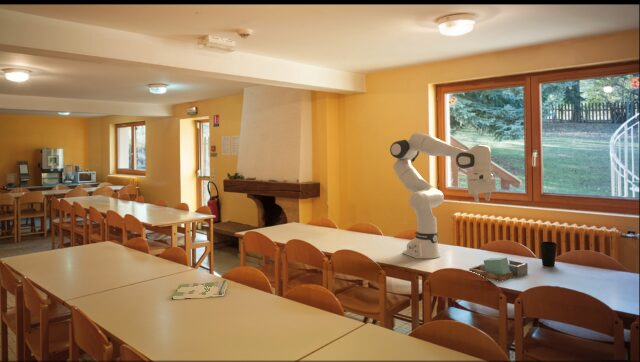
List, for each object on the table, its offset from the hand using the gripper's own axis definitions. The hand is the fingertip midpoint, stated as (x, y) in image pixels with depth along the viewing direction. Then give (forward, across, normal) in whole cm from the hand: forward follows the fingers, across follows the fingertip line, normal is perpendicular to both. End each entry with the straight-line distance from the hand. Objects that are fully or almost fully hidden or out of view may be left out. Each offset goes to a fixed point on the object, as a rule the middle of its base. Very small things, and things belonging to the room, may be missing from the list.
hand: (482, 201), depth 226 cm
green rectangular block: (+33, +14, +16) cm, 39 cm away
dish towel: (+35, +135, -57) cm, 151 cm away
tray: (+34, +14, +14) cm, 39 cm away
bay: (+34, +3, +19) cm, 39 cm away
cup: (+34, -22, +24) cm, 47 cm away
